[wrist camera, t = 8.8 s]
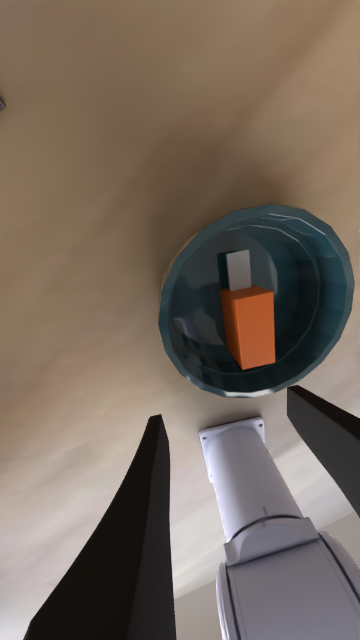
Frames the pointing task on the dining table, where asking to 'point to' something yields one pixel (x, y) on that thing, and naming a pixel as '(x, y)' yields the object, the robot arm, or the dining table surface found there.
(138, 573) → the robot arm
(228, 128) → the dining table surface
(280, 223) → the bowl
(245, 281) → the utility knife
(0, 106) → the machine pistol
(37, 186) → the dining table surface
